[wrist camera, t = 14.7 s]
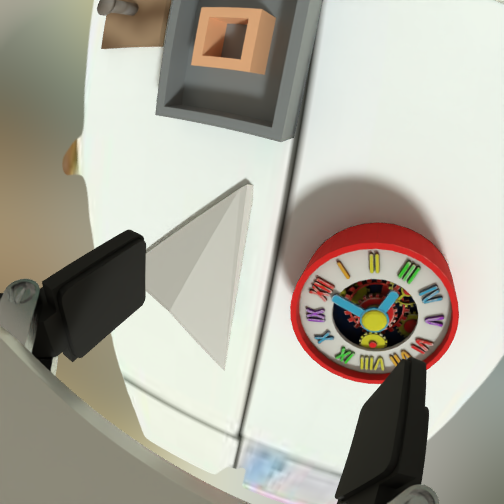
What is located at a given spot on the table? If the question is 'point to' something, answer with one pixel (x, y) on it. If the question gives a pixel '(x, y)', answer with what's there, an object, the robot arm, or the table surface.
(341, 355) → the toy clock
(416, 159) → the table surface
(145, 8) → the stake base
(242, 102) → the tray
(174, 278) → the paper plane
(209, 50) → the ring
